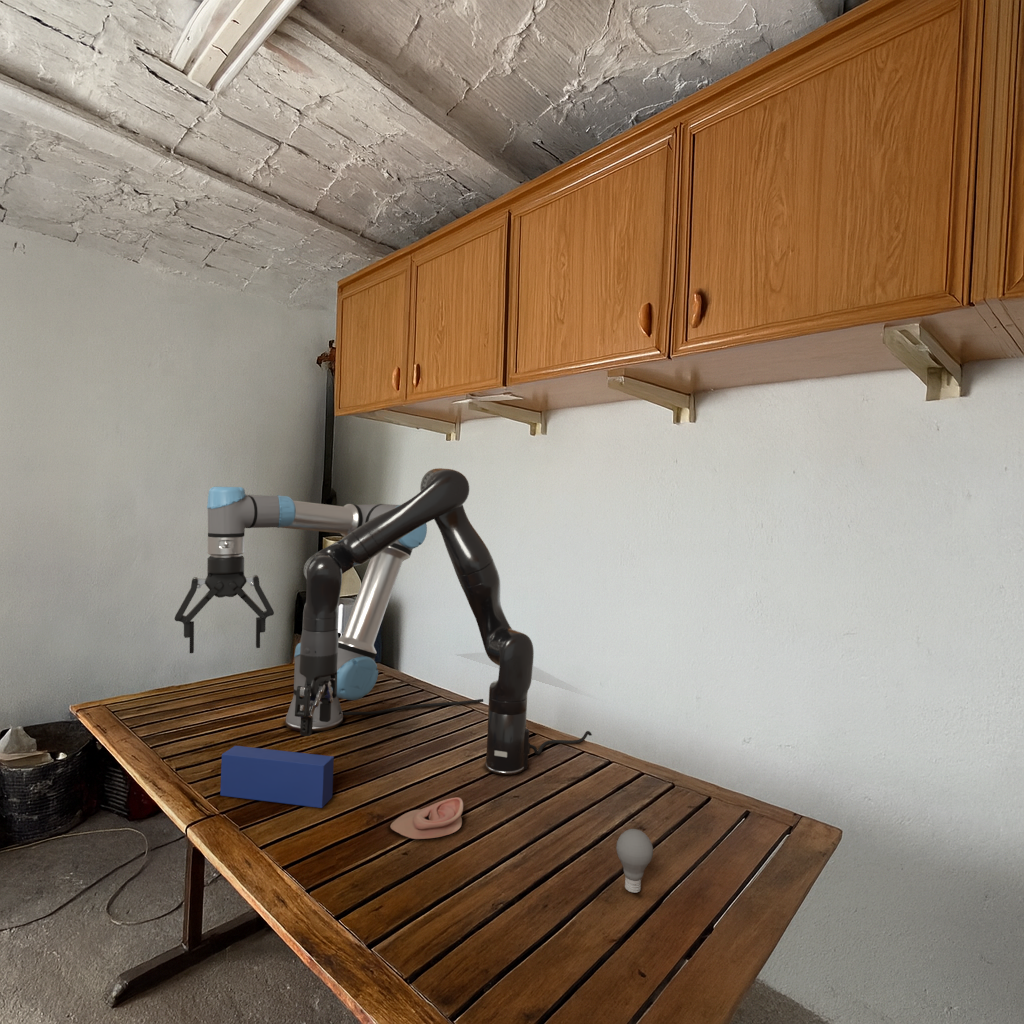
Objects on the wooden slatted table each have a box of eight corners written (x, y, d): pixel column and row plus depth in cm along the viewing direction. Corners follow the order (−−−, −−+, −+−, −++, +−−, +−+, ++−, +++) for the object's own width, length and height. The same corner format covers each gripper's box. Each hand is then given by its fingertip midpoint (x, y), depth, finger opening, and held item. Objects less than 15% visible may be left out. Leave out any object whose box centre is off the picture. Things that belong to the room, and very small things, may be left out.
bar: (220, 795, 132) (221, 754, 132) (233, 785, 137) (235, 745, 137) (322, 808, 129) (323, 765, 129) (332, 797, 134) (333, 756, 134)
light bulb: (610, 879, 108) (613, 822, 108) (644, 879, 109) (647, 822, 109) (619, 902, 102) (622, 840, 102) (655, 901, 103) (658, 840, 103)
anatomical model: (384, 813, 120) (406, 787, 131) (383, 834, 120) (405, 806, 131) (452, 824, 117) (468, 796, 128) (451, 845, 117) (467, 815, 128)
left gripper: (161, 558, 133) (161, 658, 134) (286, 555, 144) (285, 648, 145) (164, 554, 140) (163, 649, 141) (283, 552, 151) (282, 640, 151)
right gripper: (320, 660, 124) (317, 742, 124) (350, 644, 138) (346, 718, 138) (285, 656, 125) (281, 738, 125) (317, 641, 139) (314, 715, 139)
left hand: (225, 649), depth 143 cm, fingers open, 13 cm apart
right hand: (315, 727), depth 132 cm, fingers open, 8 cm apart
